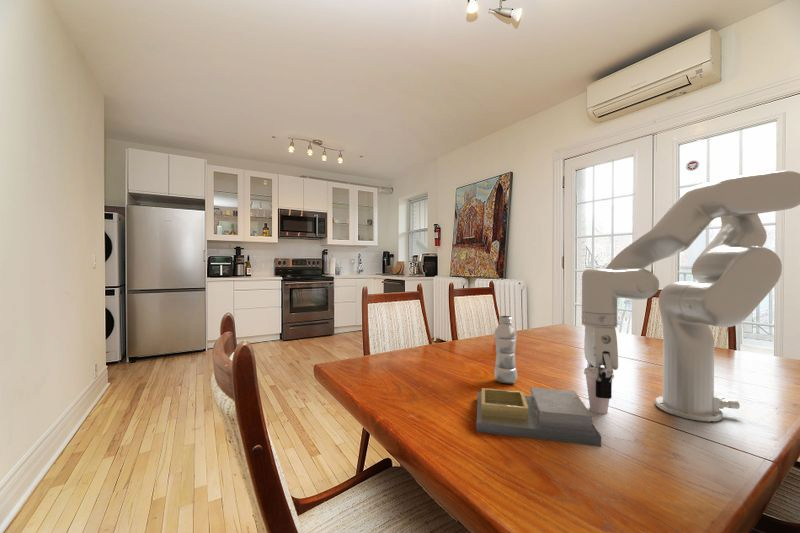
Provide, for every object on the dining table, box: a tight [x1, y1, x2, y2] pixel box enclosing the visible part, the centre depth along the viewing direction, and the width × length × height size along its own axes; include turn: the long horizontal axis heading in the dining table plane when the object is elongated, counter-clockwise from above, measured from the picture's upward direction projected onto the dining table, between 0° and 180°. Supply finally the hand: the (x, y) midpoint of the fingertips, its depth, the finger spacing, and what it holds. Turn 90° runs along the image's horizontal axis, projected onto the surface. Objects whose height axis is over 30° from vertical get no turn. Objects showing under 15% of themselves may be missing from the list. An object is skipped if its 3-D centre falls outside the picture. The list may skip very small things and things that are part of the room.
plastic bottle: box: [493, 315, 518, 384], centre depth 102 cm, size 6×7×20 cm
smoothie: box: [583, 365, 615, 415], centre depth 83 cm, size 6×6×14 cm
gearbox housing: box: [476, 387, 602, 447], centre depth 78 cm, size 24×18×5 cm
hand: (598, 391), depth 83 cm, fingers closed on smoothie, 6 cm apart
